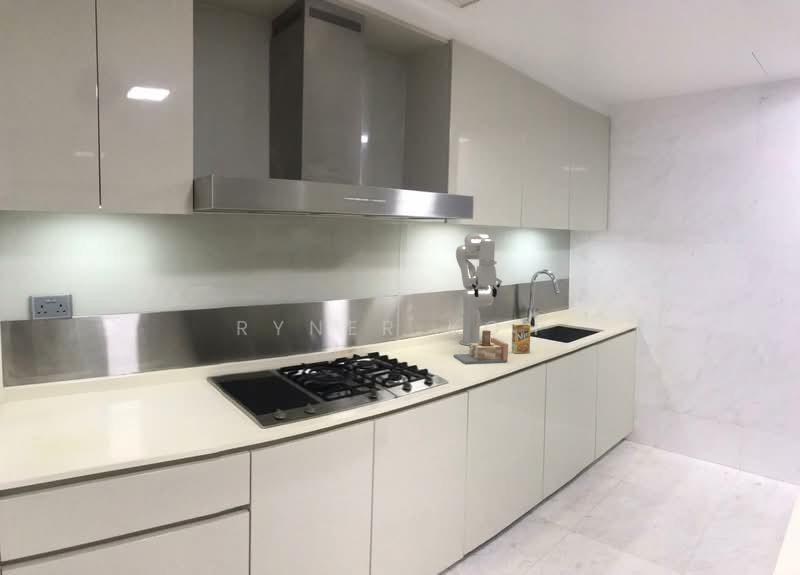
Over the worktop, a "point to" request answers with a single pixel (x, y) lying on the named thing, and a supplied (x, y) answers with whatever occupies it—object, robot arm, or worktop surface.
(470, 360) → the rail board
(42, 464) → the worktop surface
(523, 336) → the candy box
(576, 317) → the worktop surface
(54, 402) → the worktop surface
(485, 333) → the dowel
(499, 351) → the socket block
